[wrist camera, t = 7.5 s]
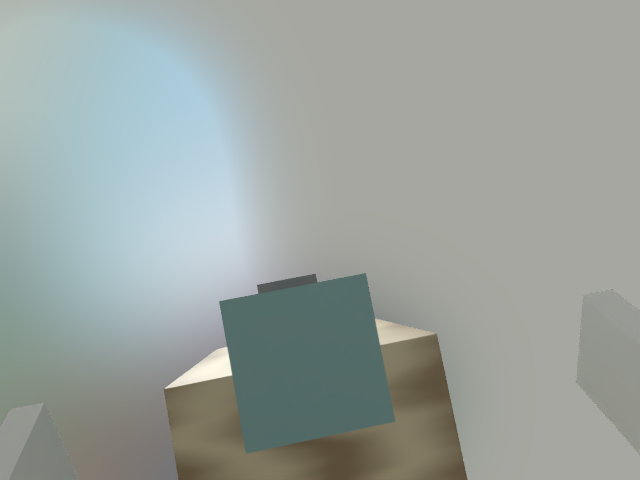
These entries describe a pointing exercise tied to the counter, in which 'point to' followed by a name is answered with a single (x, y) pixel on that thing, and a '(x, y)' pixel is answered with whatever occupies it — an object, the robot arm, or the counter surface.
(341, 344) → the teal bar
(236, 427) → the birch stand
